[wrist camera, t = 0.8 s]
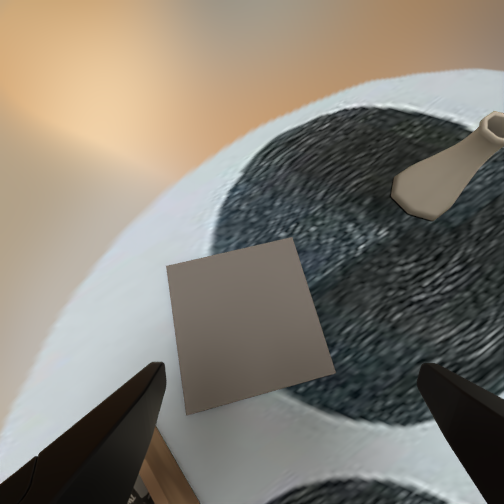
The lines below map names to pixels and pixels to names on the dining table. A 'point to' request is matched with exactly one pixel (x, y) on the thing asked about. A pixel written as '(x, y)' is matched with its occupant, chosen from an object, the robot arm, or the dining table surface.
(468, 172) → the flask
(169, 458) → the walnut box
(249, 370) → the grey-brown square block
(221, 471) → the dining table surface
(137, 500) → the supplement bottle
